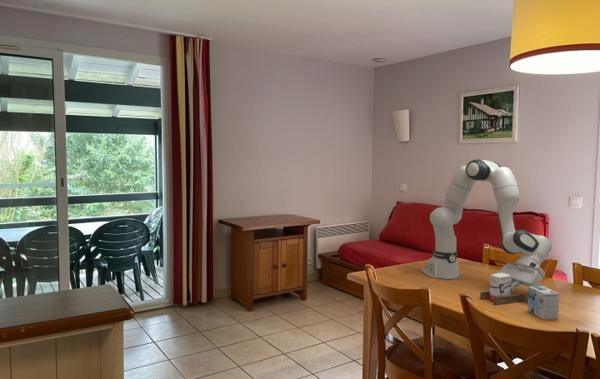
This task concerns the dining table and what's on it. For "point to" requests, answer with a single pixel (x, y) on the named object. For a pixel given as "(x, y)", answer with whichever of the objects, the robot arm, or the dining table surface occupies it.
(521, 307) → the dining table surface
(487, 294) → the walnut chute
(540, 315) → the light bulb box
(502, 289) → the ink box
